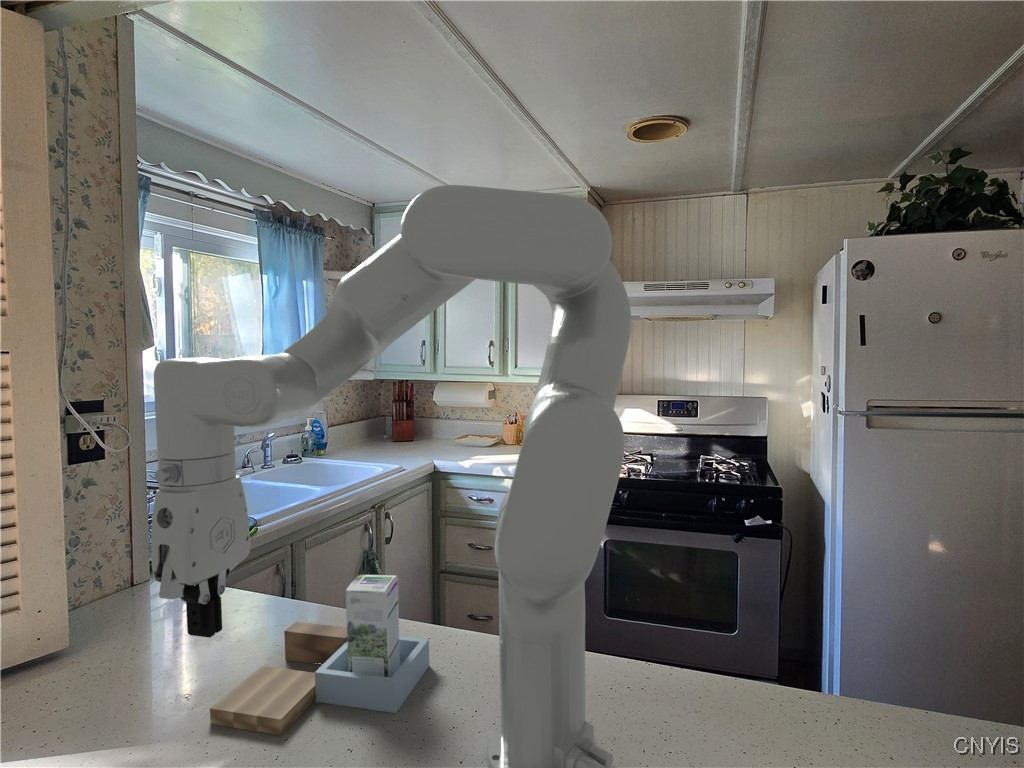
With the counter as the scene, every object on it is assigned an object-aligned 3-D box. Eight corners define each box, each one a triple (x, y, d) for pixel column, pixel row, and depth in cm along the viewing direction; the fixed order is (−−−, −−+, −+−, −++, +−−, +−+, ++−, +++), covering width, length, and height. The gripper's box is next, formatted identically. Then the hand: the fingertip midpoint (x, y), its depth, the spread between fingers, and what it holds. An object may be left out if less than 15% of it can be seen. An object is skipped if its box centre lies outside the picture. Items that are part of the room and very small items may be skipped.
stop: (356, 657, 89) (355, 628, 88) (346, 668, 86) (345, 638, 86) (297, 650, 91) (296, 621, 91) (285, 660, 88) (284, 630, 88)
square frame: (429, 665, 86) (428, 639, 86) (395, 713, 75) (395, 682, 75) (358, 657, 89) (357, 631, 89) (315, 701, 78) (314, 672, 78)
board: (326, 688, 81) (325, 674, 81) (281, 735, 71) (280, 719, 71) (262, 679, 83) (262, 665, 83) (210, 723, 73) (209, 708, 73)
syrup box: (401, 672, 85) (399, 573, 84) (389, 696, 79) (386, 590, 78) (362, 670, 85) (359, 572, 84) (347, 694, 79) (344, 589, 78)
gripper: (173, 488, 57) (181, 673, 58) (270, 458, 71) (276, 607, 72) (109, 484, 58) (118, 664, 60) (217, 456, 73) (223, 601, 74)
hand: (205, 632), depth 66 cm, fingers closed
